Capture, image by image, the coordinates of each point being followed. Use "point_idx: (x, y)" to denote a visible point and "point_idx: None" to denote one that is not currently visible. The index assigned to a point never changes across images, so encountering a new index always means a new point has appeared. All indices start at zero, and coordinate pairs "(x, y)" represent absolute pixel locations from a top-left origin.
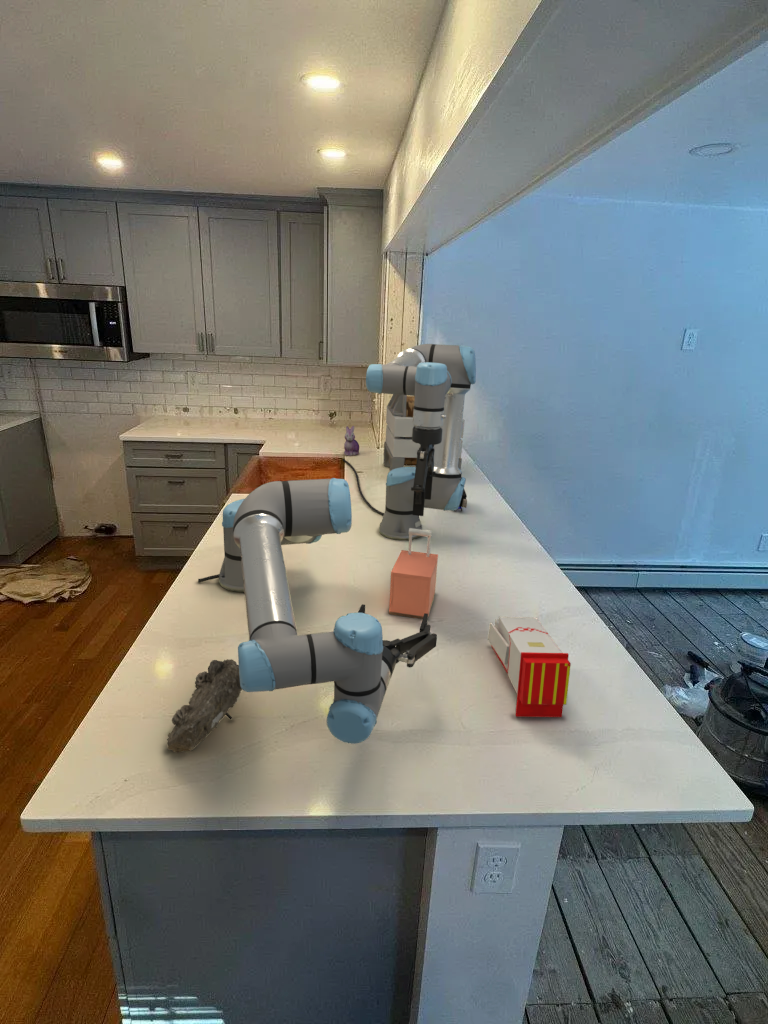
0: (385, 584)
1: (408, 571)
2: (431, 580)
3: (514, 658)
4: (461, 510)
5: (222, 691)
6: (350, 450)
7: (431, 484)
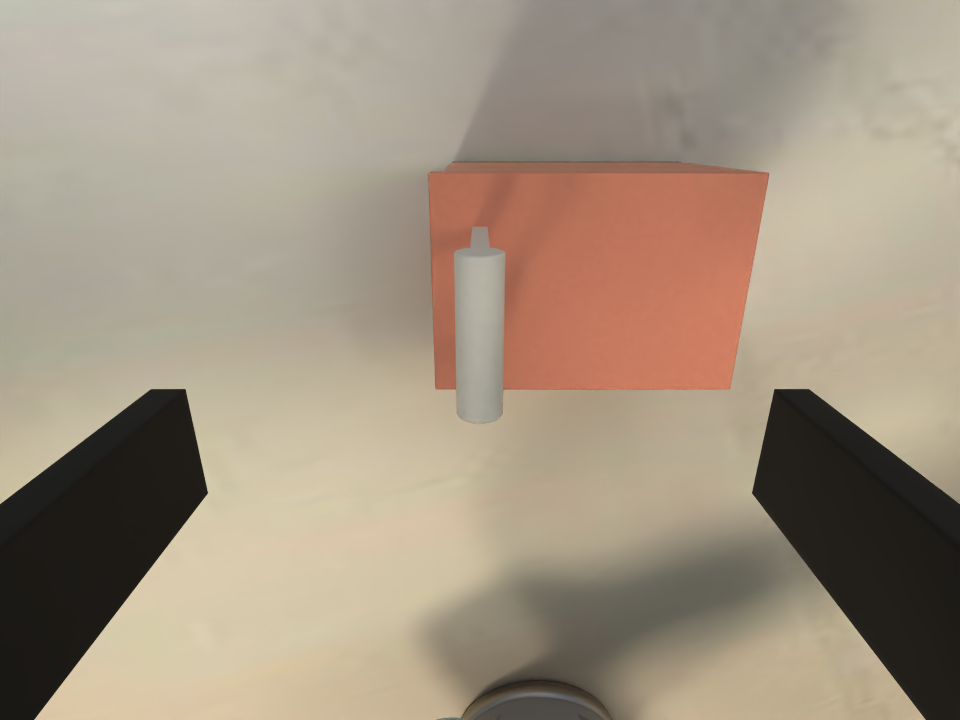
0: (427, 374)
1: (710, 307)
2: (708, 170)
3: None
4: None
5: None
6: None
7: (39, 519)
